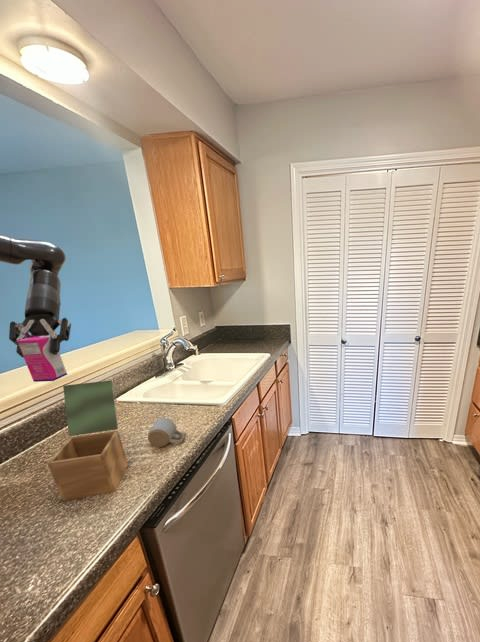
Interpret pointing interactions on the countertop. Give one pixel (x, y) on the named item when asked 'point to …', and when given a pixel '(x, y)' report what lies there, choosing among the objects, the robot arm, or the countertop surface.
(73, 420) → the lid
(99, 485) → the chest
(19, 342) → the supplement box
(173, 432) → the ceramic mug
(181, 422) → the countertop surface
